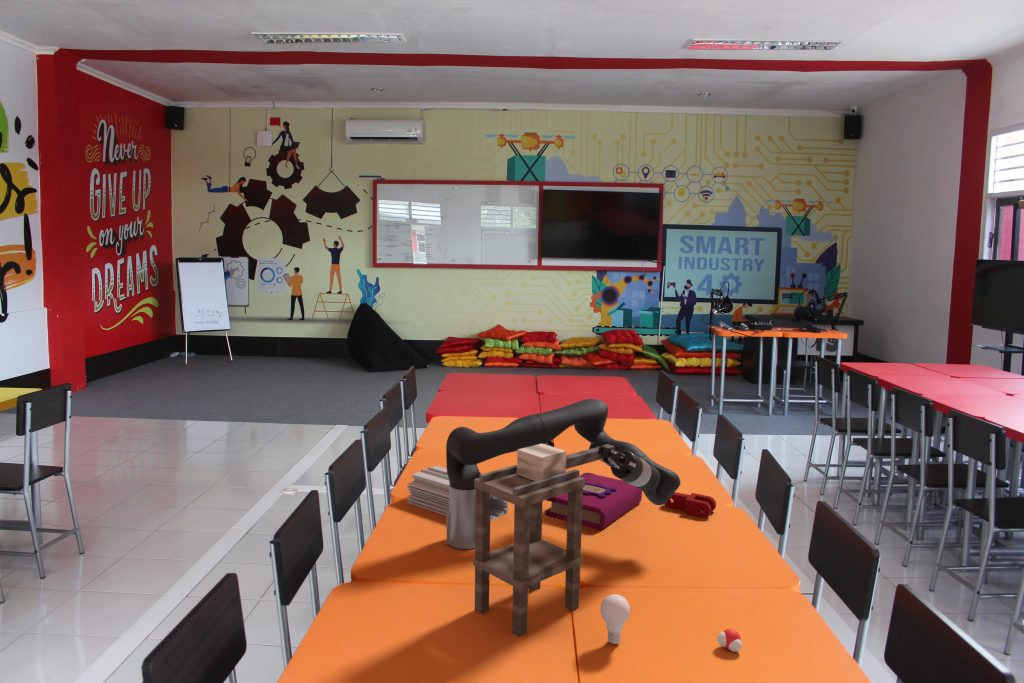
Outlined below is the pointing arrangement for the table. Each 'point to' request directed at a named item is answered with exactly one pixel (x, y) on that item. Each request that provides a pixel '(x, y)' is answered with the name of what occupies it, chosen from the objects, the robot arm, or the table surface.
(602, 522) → the book
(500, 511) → the stack of papers
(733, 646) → the molecule
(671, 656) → the table surface
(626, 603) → the lightbulb
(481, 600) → the shelf stand
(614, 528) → the table surface
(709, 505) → the mechanical linkage
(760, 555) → the table surface
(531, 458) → the wooden mallet
